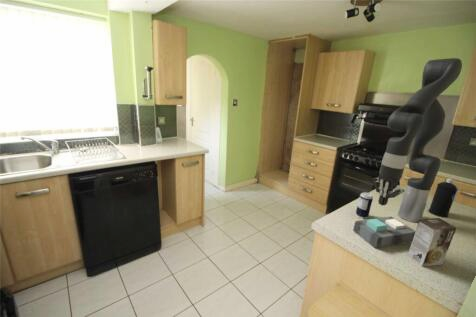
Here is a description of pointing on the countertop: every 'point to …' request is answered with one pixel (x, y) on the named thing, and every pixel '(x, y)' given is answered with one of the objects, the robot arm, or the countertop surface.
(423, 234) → the coffee box
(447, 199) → the aerosol can
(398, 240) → the key console
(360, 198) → the beverage can
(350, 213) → the countertop surface
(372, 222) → the teal key
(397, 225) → the cream key
